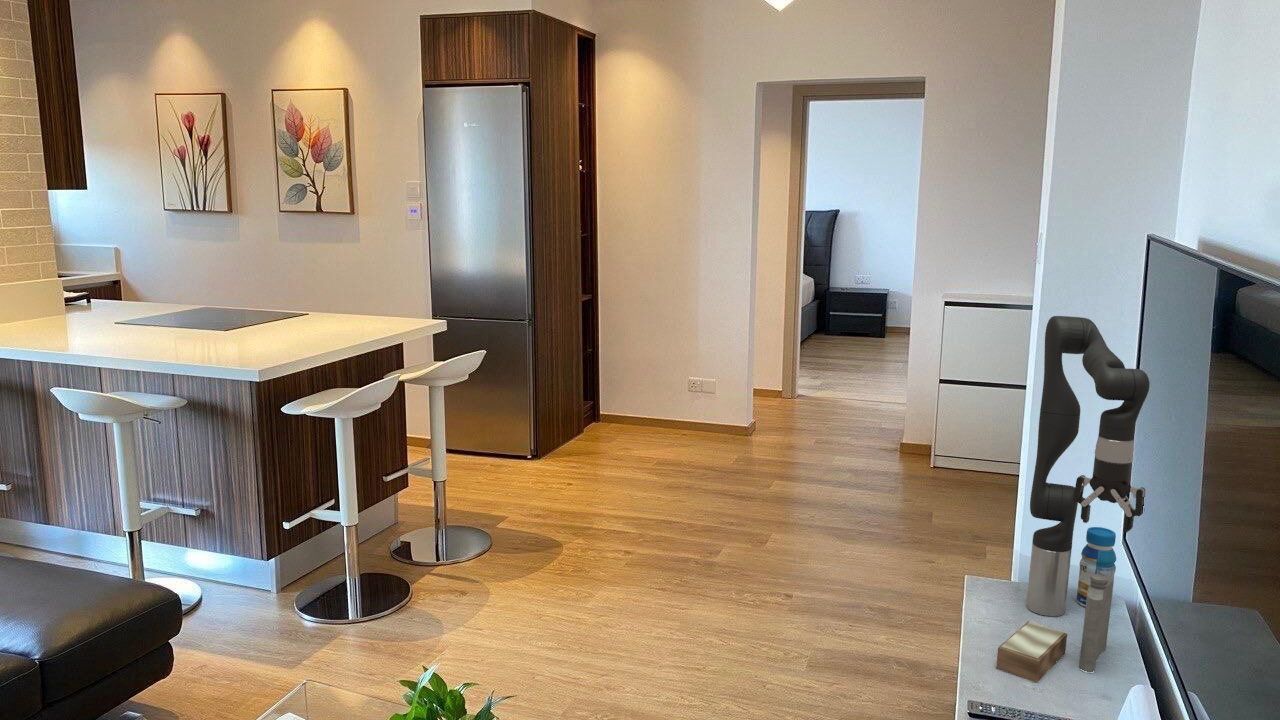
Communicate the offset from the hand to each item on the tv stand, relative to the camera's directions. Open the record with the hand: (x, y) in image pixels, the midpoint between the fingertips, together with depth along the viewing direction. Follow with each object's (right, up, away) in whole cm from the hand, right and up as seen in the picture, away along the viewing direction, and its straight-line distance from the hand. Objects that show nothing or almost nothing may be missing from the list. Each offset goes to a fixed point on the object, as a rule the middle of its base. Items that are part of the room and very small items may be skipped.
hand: (1105, 526), depth 215 cm
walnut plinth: (-15, -31, +4) cm, 35 cm away
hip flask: (-1, -32, +6) cm, 32 cm away
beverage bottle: (+14, -26, +35) cm, 46 cm away
